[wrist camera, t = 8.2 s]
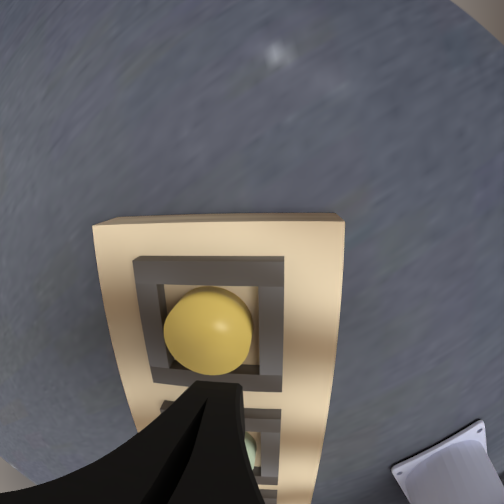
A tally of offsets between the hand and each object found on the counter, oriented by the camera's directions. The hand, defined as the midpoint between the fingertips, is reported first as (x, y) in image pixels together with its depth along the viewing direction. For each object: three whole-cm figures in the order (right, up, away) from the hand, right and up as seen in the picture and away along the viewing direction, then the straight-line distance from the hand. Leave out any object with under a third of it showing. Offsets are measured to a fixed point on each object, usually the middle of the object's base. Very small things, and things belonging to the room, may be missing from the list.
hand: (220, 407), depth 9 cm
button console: (0, -6, +10) cm, 11 cm away
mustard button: (-1, +1, +5) cm, 6 cm away
